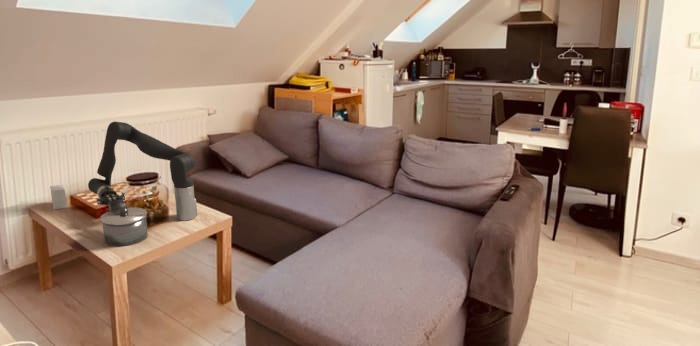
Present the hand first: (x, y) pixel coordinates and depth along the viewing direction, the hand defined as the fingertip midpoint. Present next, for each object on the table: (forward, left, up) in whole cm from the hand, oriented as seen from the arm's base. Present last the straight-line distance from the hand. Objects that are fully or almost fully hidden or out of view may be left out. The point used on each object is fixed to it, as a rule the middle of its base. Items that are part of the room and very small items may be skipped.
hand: (115, 204), depth 220 cm
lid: (+4, +11, -2) cm, 12 cm away
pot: (+5, +13, -12) cm, 19 cm away
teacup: (-27, -24, -13) cm, 38 cm away
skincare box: (-2, -54, -13) cm, 55 cm away
